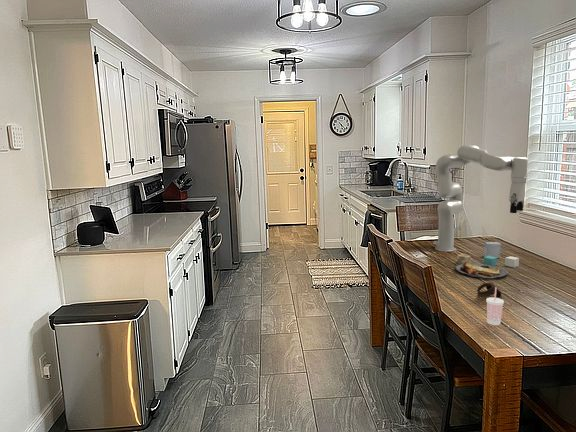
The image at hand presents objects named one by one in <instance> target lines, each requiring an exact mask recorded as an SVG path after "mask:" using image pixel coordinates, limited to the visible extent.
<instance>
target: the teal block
mask: <svg viewBox="0 0 576 432" xmlns="http://www.w3.org/2000/svg"><path fill="white" fill-rule="evenodd" d="M482 260H483V263H482V264H484V265H485V264H488V265H494V266H496V267H497V265H498V258H497V257H492V256H486V257H484V256H483V259H482Z"/></svg>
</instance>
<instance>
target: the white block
mask: <svg viewBox="0 0 576 432" xmlns="http://www.w3.org/2000/svg"><path fill="white" fill-rule="evenodd" d="M519 261H520V258H519V257H516V256H511V255H510V256H506V257H505V259H504V266H505V267H511V268H516V267H519V266H520V262H519Z"/></svg>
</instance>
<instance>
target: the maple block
mask: <svg viewBox="0 0 576 432" xmlns="http://www.w3.org/2000/svg"><path fill="white" fill-rule="evenodd" d="M456 257H457V258H456V263H457V264H458V265H460V264H464V263H465V262H469V263H471V255H468V254H464V253H462V254H458V255H457V256H456Z"/></svg>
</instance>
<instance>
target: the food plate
mask: <svg viewBox="0 0 576 432" xmlns="http://www.w3.org/2000/svg"><path fill="white" fill-rule="evenodd" d="M454 269H455V271H456V272H458V273H459V272H460V273H461V274H465V275H467V276H469V277H471V278H479V279H481V278H483V279H494V278H502V277H504V276H506V275H508V274H509V272H508V270H506V269H505V268H503V267H500V266H497V265H496V266H494V265H488V264H485V265H484V264H483V263H478V262H477V263H474V262H470V263H469V262H465V263H464V264H457V265H455V266H454ZM477 272H478V273H477ZM477 275H479V276H477ZM489 276H490V277H489Z"/></svg>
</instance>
